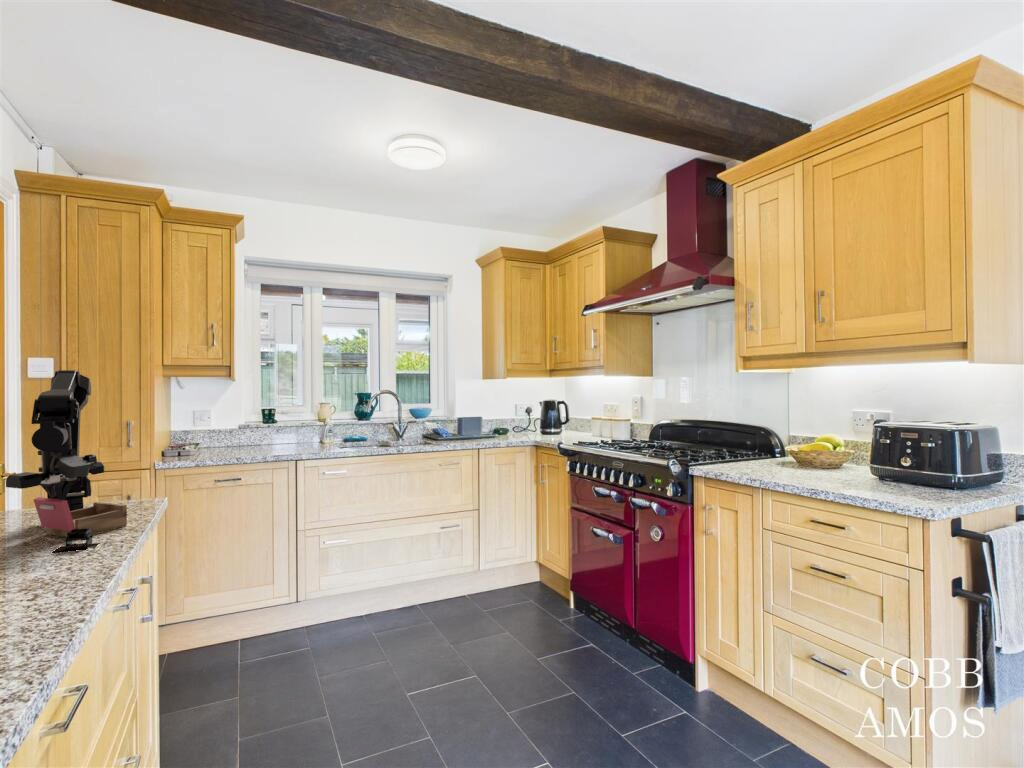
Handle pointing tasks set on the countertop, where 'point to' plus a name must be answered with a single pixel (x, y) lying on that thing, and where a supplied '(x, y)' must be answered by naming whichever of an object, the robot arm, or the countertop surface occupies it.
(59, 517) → the panel
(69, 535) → the black boxy piece
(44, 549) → the countertop surface
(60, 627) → the countertop surface
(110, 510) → the brown wooden drawer
